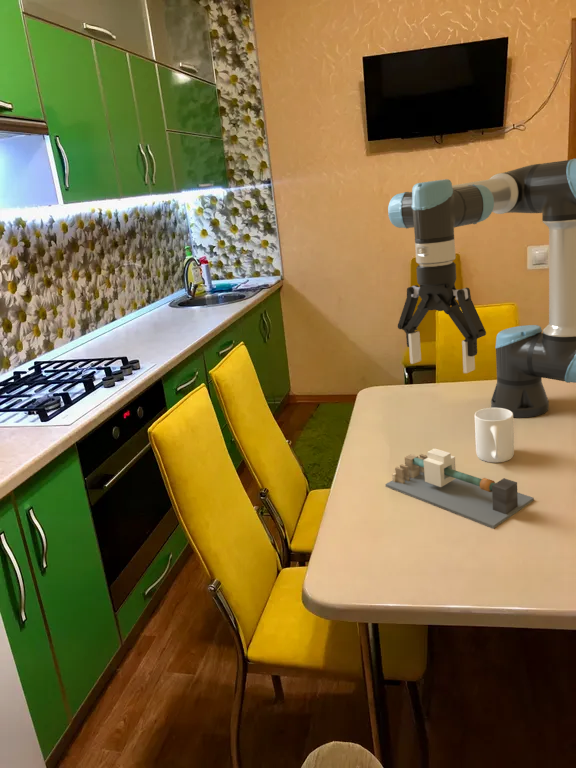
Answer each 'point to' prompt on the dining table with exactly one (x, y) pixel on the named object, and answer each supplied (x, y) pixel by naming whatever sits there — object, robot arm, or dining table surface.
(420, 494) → the mat
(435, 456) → the sleeve
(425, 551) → the dining table surface
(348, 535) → the dining table surface
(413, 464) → the comb rail
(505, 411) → the mug
